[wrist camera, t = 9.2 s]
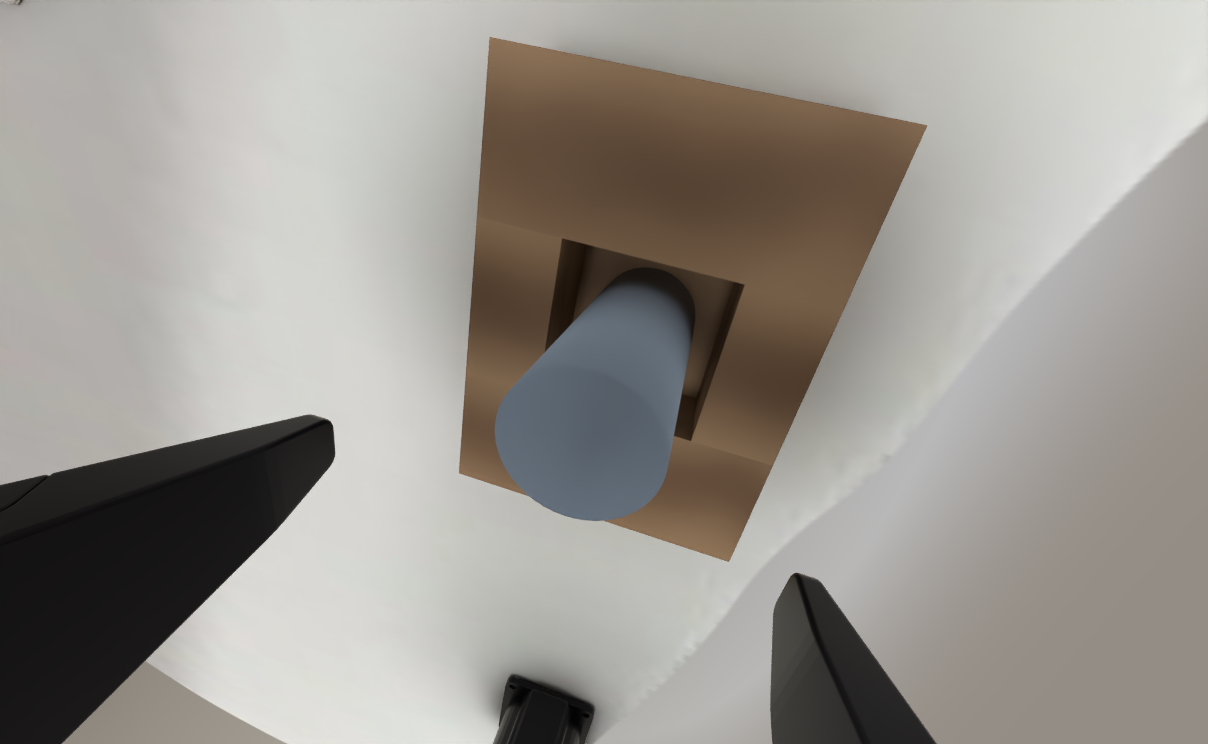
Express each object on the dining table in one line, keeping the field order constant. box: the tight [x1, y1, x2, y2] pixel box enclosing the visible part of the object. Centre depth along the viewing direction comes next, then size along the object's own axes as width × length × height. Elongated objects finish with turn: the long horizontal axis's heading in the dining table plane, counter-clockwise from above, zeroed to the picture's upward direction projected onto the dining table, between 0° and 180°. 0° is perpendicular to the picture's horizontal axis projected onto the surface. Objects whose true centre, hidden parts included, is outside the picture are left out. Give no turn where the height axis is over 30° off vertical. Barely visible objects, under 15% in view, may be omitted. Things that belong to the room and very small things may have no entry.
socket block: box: [459, 37, 927, 562], centre depth 18 cm, size 16×12×4 cm
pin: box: [495, 267, 695, 521], centre depth 15 cm, size 4×4×10 cm
